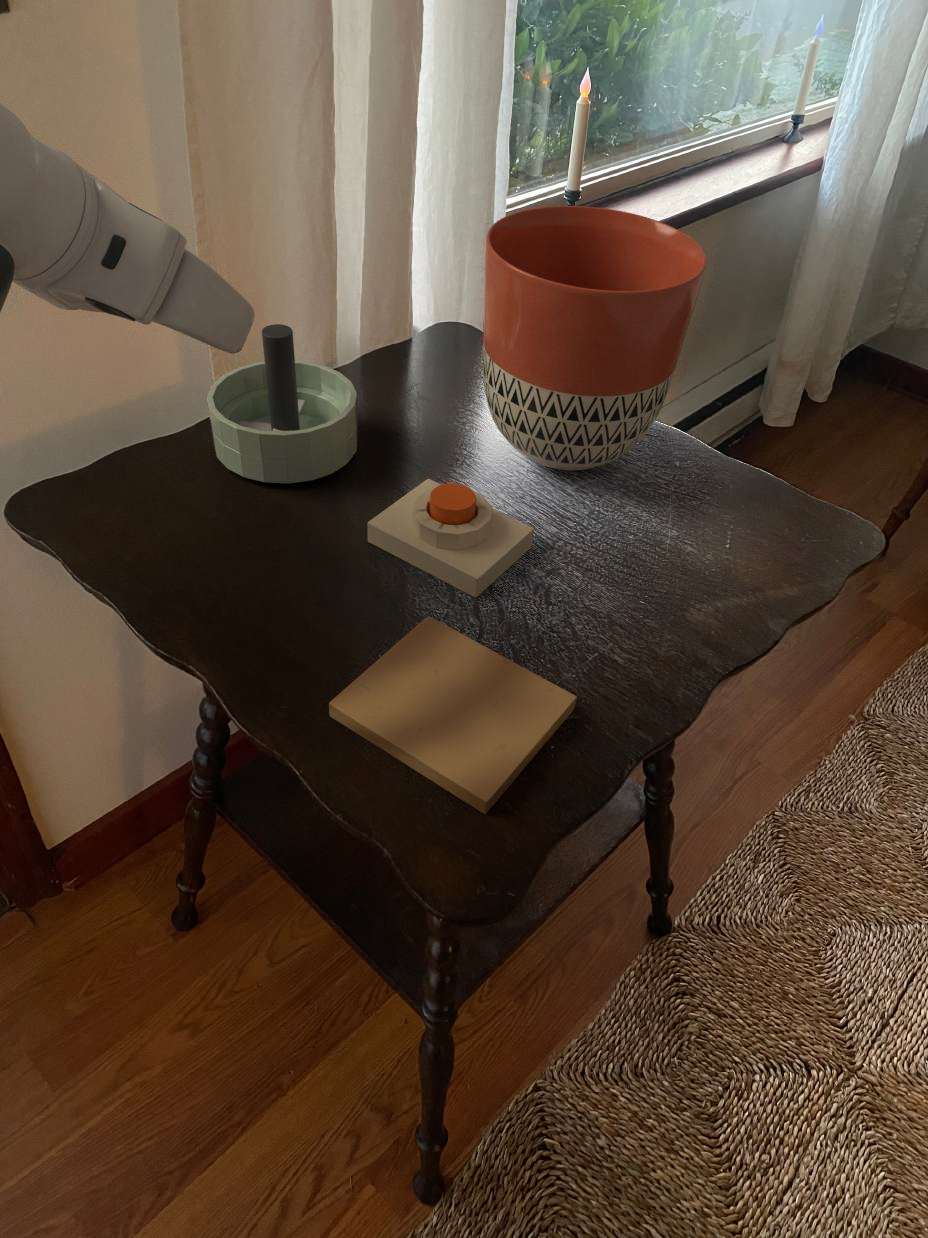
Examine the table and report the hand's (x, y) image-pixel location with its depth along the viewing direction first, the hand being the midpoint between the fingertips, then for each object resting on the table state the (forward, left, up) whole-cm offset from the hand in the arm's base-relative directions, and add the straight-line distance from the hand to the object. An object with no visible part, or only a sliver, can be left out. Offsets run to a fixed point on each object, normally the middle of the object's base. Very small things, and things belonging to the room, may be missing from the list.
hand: (195, 324), depth 74 cm
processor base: (+22, +8, -17) cm, 28 cm away
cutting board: (+34, -8, -17) cm, 38 cm away
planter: (+22, +28, -17) cm, 39 cm away
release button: (+22, +8, -13) cm, 26 cm away
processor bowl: (0, +10, -17) cm, 19 cm away
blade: (0, +10, -16) cm, 19 cm away
